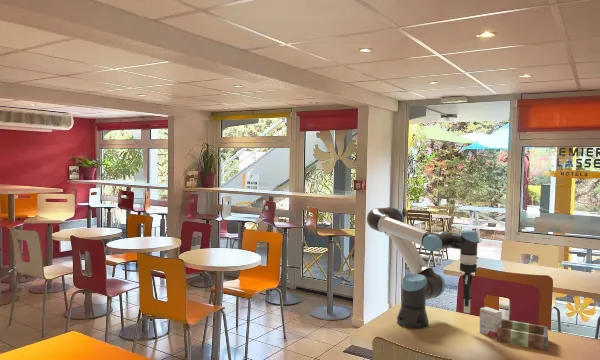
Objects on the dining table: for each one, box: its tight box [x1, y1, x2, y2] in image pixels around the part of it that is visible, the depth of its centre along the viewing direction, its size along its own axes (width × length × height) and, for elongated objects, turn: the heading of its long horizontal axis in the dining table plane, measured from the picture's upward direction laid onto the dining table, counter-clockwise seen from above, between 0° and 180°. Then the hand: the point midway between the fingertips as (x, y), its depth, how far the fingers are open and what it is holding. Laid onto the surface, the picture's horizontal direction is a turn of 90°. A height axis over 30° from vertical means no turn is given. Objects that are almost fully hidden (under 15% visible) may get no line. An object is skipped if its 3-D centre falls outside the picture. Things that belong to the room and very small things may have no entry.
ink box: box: [479, 306, 503, 339], centre depth 215 cm, size 9×5×12 cm, turn 33°
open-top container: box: [496, 318, 549, 352], centre depth 209 cm, size 20×15×6 cm
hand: (466, 312), depth 220 cm, fingers closed
